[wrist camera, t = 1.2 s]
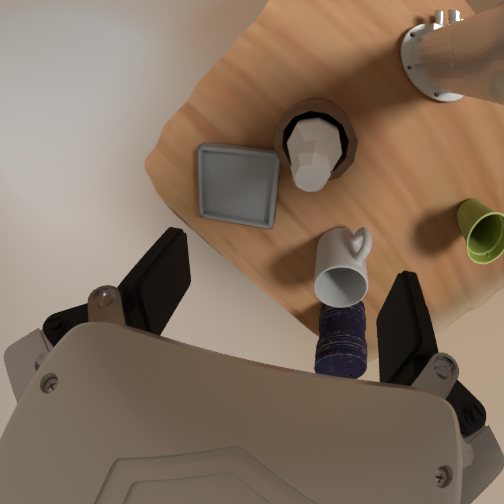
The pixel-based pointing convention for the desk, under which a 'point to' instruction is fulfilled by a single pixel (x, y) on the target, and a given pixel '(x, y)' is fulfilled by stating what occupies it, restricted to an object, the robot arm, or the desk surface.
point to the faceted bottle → (313, 152)
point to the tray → (238, 184)
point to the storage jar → (342, 341)
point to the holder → (324, 107)
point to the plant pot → (481, 231)
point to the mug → (342, 266)
